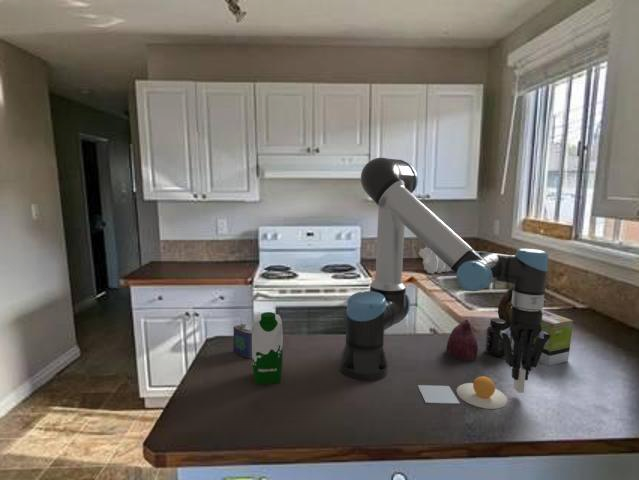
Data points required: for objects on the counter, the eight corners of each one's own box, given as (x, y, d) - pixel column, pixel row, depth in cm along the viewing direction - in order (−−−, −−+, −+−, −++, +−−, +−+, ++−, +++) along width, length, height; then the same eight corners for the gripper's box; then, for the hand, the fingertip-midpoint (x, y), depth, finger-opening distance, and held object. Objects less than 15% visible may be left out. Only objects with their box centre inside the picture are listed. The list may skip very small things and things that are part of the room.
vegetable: (477, 370, 131) (490, 333, 125) (445, 363, 133) (456, 326, 126) (473, 350, 140) (485, 315, 134) (443, 344, 142) (453, 308, 136)
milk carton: (252, 386, 111) (252, 318, 108) (251, 371, 119) (251, 307, 116) (283, 384, 112) (284, 316, 110) (280, 369, 121) (280, 306, 118)
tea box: (509, 348, 141) (513, 308, 139) (529, 344, 145) (533, 305, 143) (548, 366, 128) (553, 322, 126) (569, 361, 132) (574, 319, 130)
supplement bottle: (480, 349, 140) (483, 317, 138) (499, 349, 140) (502, 316, 139) (490, 358, 133) (494, 324, 131) (510, 357, 134) (513, 323, 132)
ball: (489, 378, 105) (503, 391, 106) (479, 368, 110) (492, 381, 111) (474, 392, 105) (488, 405, 106) (465, 382, 111) (479, 395, 111)
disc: (466, 408, 102) (466, 407, 102) (450, 383, 115) (450, 382, 115) (516, 409, 102) (516, 408, 102) (494, 384, 115) (494, 383, 115)
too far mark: (425, 403, 104) (425, 402, 104) (417, 385, 113) (417, 385, 113) (459, 403, 104) (459, 403, 104) (448, 386, 113) (448, 385, 113)
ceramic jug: (537, 341, 148) (546, 263, 144) (493, 332, 156) (500, 258, 152) (540, 328, 162) (548, 256, 158) (499, 320, 170) (506, 252, 166)
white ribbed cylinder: (456, 278, 265) (428, 279, 254) (441, 262, 278) (413, 263, 267) (469, 256, 256) (440, 256, 245) (451, 240, 269) (423, 240, 258)
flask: (255, 357, 129) (255, 326, 127) (248, 360, 127) (248, 328, 125) (237, 349, 135) (237, 319, 133) (230, 352, 132) (230, 321, 131)
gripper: (509, 311, 102) (500, 396, 105) (559, 312, 101) (549, 398, 105) (496, 302, 109) (488, 382, 112) (543, 303, 109) (534, 383, 112)
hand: (518, 390), depth 109 cm, fingers closed
